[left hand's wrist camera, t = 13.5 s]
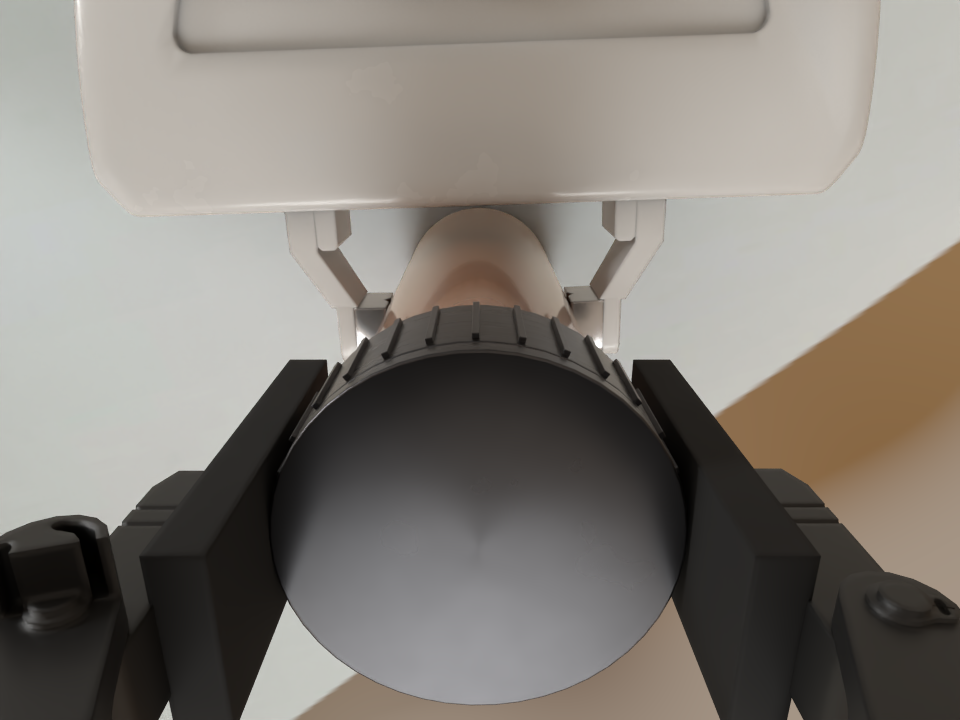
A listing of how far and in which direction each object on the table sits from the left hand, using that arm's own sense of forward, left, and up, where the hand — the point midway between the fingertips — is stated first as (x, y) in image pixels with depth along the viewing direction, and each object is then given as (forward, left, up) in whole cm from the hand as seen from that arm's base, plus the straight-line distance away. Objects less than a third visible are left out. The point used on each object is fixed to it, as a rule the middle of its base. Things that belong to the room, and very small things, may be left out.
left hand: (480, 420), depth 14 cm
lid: (0, 0, +4) cm, 4 cm away
